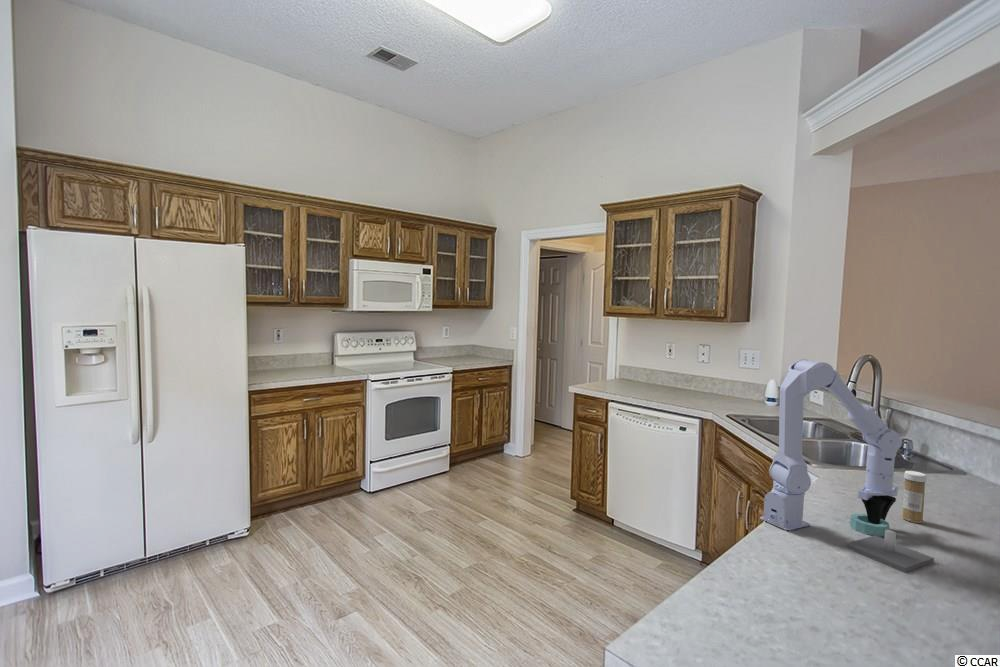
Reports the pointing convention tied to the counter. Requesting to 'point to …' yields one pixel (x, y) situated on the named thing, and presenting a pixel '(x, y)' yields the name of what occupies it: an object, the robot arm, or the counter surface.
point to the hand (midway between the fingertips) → (876, 522)
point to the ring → (868, 525)
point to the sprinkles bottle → (914, 496)
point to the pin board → (890, 552)
